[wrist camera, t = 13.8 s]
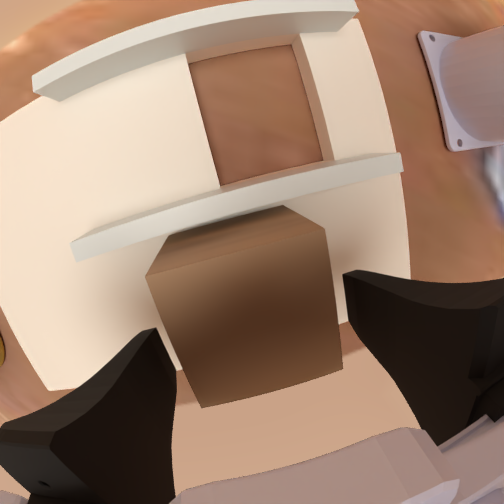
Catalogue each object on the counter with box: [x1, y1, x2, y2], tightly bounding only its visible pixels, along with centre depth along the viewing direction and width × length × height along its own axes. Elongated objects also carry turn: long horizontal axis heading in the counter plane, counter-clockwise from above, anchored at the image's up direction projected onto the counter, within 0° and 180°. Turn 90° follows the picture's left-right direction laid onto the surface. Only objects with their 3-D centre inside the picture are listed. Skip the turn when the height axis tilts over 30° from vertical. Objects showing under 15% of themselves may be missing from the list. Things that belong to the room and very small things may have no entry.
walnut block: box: [145, 205, 343, 408], centre depth 11 cm, size 5×5×5 cm
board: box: [0, 19, 411, 391], centre depth 14 cm, size 23×16×2 cm
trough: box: [32, 0, 404, 263], centre depth 11 cm, size 14×8×2 cm, turn 104°
